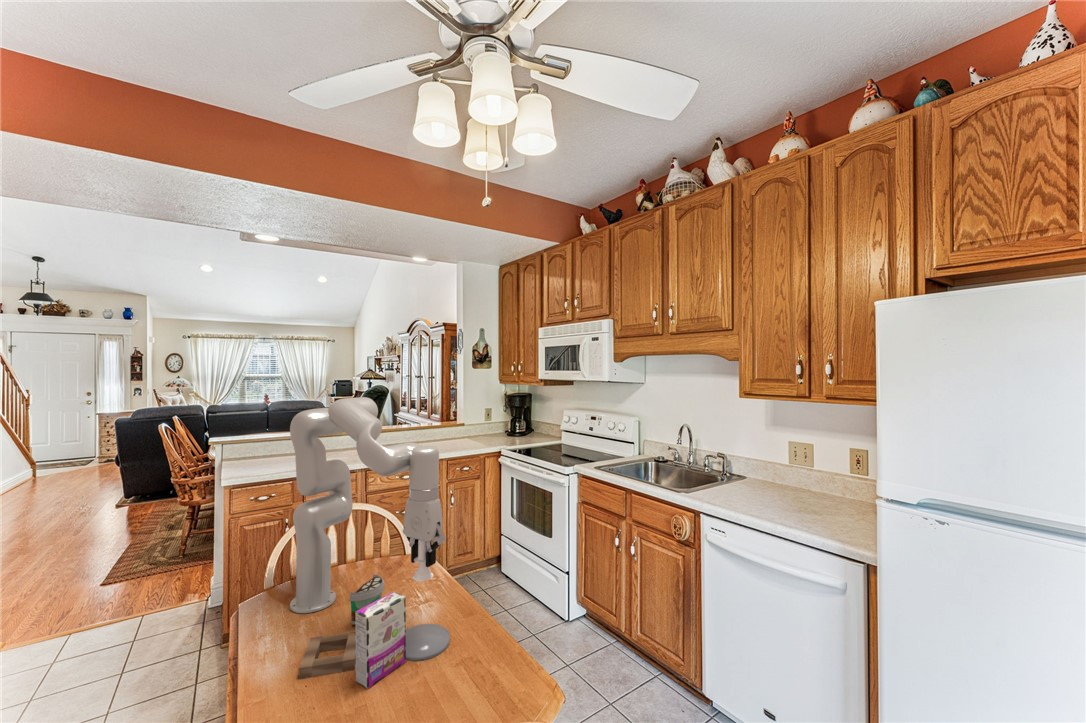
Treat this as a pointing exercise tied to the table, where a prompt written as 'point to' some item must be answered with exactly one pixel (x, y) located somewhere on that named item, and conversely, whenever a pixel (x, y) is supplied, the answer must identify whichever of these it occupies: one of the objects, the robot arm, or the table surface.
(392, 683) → the table surface
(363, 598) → the food container
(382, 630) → the candy bar box
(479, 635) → the table surface
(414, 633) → the slate plate
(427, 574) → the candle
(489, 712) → the table surface
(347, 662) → the walnut socket
